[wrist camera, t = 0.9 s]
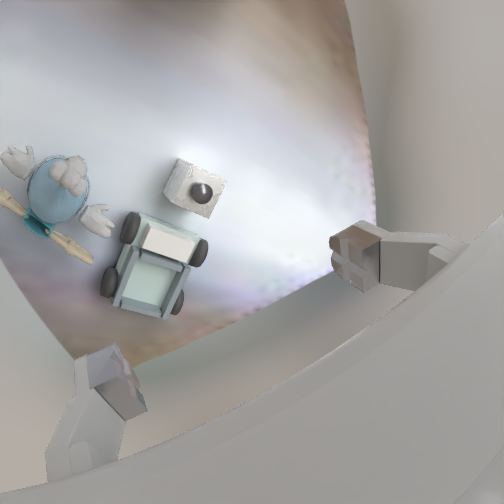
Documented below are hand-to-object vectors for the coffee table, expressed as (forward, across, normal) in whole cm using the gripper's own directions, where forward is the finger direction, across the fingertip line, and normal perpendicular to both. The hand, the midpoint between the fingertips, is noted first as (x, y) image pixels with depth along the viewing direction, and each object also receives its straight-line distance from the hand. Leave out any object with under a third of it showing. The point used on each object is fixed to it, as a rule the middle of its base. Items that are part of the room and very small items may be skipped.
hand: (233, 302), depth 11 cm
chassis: (+33, +2, +14) cm, 36 cm away
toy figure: (+33, +9, -2) cm, 35 cm away
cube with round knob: (+33, -7, +5) cm, 34 cm away
